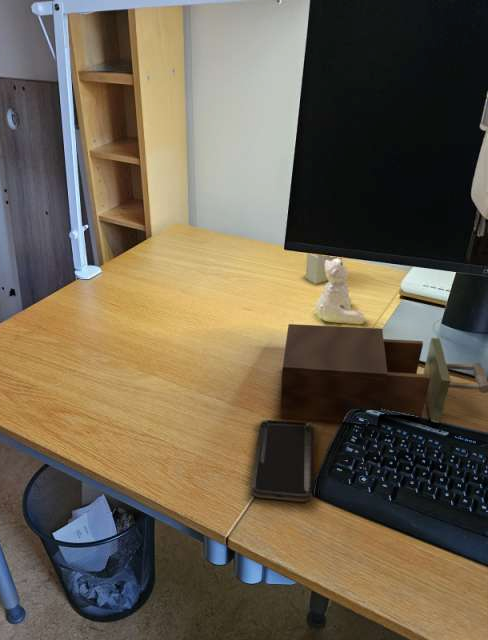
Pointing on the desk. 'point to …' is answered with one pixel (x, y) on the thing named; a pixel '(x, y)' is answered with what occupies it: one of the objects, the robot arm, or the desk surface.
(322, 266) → the cream upright block
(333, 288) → the sitting furry creature
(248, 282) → the desk surface
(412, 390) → the drawer
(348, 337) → the cabinet
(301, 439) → the phone
